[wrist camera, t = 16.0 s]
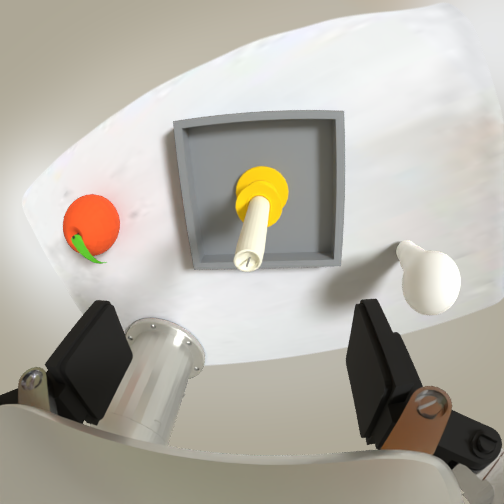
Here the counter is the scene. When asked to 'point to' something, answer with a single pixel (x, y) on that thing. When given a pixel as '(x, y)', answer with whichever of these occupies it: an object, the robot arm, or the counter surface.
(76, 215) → the clementine
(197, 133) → the tray
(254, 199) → the candle
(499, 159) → the counter surface
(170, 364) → the robot arm
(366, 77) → the counter surface
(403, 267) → the lightbulb
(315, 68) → the counter surface
